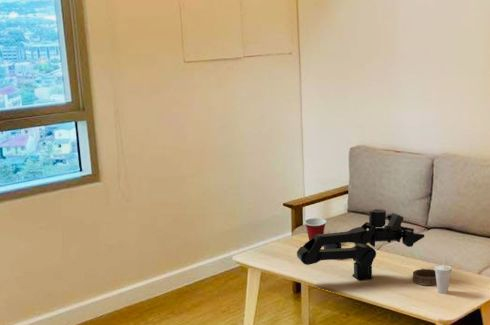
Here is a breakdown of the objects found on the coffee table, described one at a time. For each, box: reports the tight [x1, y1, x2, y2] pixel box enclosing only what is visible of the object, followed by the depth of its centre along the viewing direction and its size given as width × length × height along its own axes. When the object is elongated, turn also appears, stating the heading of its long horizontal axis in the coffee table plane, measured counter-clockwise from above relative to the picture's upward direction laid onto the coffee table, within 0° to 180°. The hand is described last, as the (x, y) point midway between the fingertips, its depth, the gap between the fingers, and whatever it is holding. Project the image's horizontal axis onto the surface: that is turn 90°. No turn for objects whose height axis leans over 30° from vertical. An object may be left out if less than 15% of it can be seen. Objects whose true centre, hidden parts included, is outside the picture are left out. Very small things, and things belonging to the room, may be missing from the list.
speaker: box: [323, 243, 342, 249], centre depth 289 cm, size 8×6×10 cm
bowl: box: [412, 268, 437, 287], centre depth 255 cm, size 12×12×3 cm
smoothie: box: [433, 256, 453, 294], centre depth 242 cm, size 6×6×14 cm
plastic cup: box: [304, 217, 327, 241], centre depth 310 cm, size 11×11×12 cm
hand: (418, 232), depth 265 cm, fingers open, 9 cm apart
